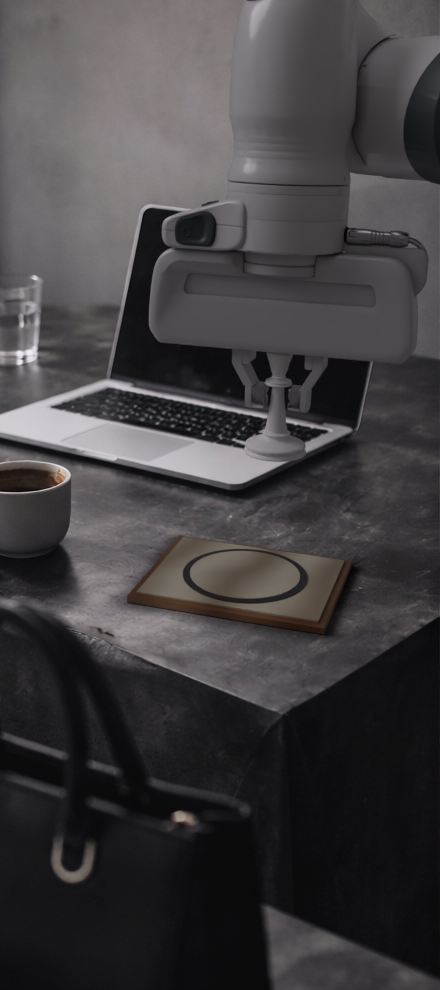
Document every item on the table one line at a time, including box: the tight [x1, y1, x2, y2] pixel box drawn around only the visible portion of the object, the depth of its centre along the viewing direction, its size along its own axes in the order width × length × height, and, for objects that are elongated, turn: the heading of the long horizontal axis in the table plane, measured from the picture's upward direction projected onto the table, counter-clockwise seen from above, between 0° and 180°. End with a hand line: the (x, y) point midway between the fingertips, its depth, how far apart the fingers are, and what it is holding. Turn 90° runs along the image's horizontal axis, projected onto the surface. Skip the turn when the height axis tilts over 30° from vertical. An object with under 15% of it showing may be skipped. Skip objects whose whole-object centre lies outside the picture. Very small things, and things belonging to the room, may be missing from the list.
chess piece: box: [243, 352, 307, 463], centre depth 75 cm, size 5×5×10 cm
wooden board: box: [126, 535, 353, 635], centre depth 82 cm, size 16×13×1 cm
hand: (277, 408), depth 76 cm, fingers closed on chess piece
